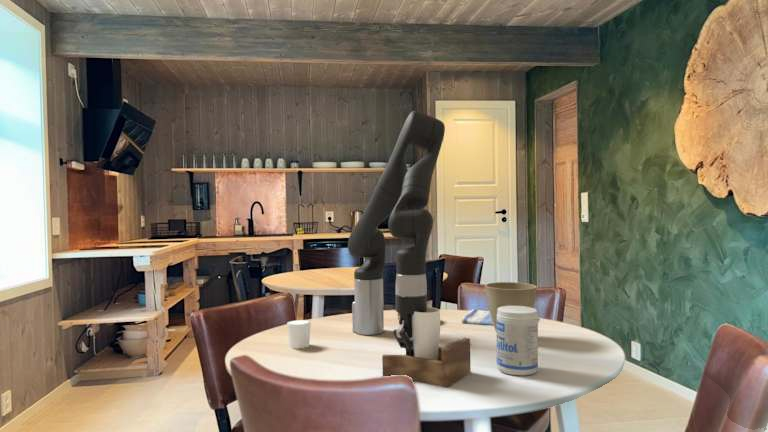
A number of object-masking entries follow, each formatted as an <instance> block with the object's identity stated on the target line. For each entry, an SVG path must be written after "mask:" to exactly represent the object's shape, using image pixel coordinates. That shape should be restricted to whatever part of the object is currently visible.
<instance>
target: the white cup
mask: <svg viewBox="0 0 768 432" xmlns="http://www.w3.org/2000/svg"><path fill="white" fill-rule="evenodd" d="M311 325H312V322H311V320H307V319H295V320H290V321H287V322H286V326H287V327H286V328H287V337H288V342H289V343H288V344H289V345H288V346H289V348H291V349H295V350H297V349H299V350H300V348H301V349H306V348H308V347H309V346H310V341H311V340H310V338H311ZM305 347H306V348H305Z"/></svg>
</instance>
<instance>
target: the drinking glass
mask: <svg viewBox="0 0 768 432" xmlns="http://www.w3.org/2000/svg"><path fill="white" fill-rule="evenodd" d="M412 336H413V347H414V357H420V358H426V359H432V360H438V351H439V347H440V339H441V338H440V336H441V311H440V309H439V308H437V307H431V306H427V311H426V312H425V313H423V312H416V311H415V312H414V315H413V314H412Z"/></svg>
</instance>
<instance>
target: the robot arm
mask: <svg viewBox="0 0 768 432" xmlns="http://www.w3.org/2000/svg"><path fill="white" fill-rule="evenodd" d="M445 125H446V124H445V123H444V122H443V121H442V120H440V119H438V118H436V117H433V116H432V115H428V114H427V113H424V112H421V111H418V110H412V111H411V112H409V114H408V116H407V118H406V119H405V122H404V123H403V126H402V129H401V130H400V133H399V136H398V138H397V140H396V143H395V145H394V148H393V151H392V153H391V155H390V158H389V160H388V161H387V164H386V166H385V167H384V170H383V172H381V176H380V178H379V179H378V182H377V183H376V185H375V188H374V190H373V192H372V194H371V197H370V199H369V201H368V203H367V205H366V206H365V208H364V210H363V213H362V214H361V216H360V217H359V219H358V221H357V223H356V224H355V226H354V227H353V229H352V230H351V233H350V234H349V236H348V242H347V250H348V252H349V254H350V255H351V256H352V257H354V258H359V259H360V258H361V259H363V258H365V261H364V262H363V264H362V265H360V266H359V267H357V268H356V269H355V270H354V272H353V273H354V274H353V275H354V276H353V279H354V282H353V283H354V301H352V304H351V312H352V313H351V314H352V315H351V316H352V318H351V321H352V322H351V323H352V333H353V332H354V333H355V334H358V335H362V336H364V335H365V336H371V335H372V336H373V335H380V334H382V333H384V330H385V329H384V328H385V325H384V320H385V319H384V317H385V316H384V272H385V266H386V238H385V234H384V233H383V231H382V230H381V229H379V228H378V227H379V226H380V225H381V224H382V223H383V222H384V221H386V219H388V218H389V219H388V225H387V226H388V231H389V233H390V235H391V236H392V237H393V238H395V239H414V240H415V239H416V243H415V245H413V246H410V247H406V248H401V249H399V250H397V252H396V257H395V258H396V259H395V260H396V263H395V264H396V265H395V266H396V268H395V269H396V270H395V271H396V272H395V273H396V275H395V277H396V278H395V285H394V287H395V288H394V289H395V311H396V312H397V314H398V313H399V314H400V320H399V319H398V324H399V326H398V328H397V329H394V330H393V333H392V334H393V335H394V337H395V339H396V341H397V343H398V345H399V347H400V348H402V349H404V350H405V355H408V356H414V347H413V336H412V314H413V315H414V312H415V311H416V312H423V313H425V312H426V311H427V307H428V298H427V295H428V293H427V292H428V290H427V289H428V287H427V286H428V285H427V275H426V272H427V271H426V269H427V267H426V266H427V265H426V264H427V263H426V262H427V261H426V259H427V258H426V257H427V250H428V244H429V241H430V237H431V233H432V231H433V226H434V218H433V216H432V214H431V212H430V211H429V210H427V209H424V208H425V207H427V205H428V204H429V200H430V194H431V193H430V192H431V185H432V178H433V174H434V170H435V168H436V165H437V161H438V158H439V155H440V151H441V148H442V144H443V141H444V136H445V133H446V132H445V131H446V128H445ZM409 146H413V147H416V148H418V149H421V150H423V151H426V153H425V154H424V155H423V157H422V158H421V159H419V160H418V161H417V162H416V163H414V164H413V165H412V166H411V167H410V168H409V169H408V166H407V150H408V147H409Z"/></svg>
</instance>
